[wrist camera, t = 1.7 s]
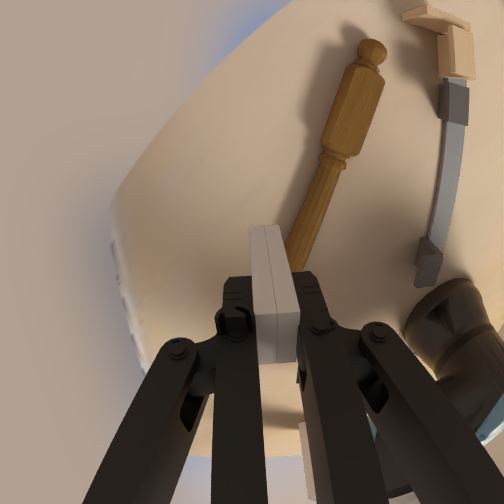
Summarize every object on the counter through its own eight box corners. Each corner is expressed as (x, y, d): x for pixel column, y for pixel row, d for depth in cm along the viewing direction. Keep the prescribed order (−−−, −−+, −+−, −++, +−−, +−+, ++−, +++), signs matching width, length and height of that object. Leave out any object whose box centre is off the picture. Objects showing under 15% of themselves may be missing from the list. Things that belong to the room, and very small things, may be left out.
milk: (306, 430, 58) (318, 513, 39) (297, 422, 55) (308, 512, 36) (331, 423, 56) (346, 507, 37) (324, 414, 53) (340, 506, 35)
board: (433, 273, 35) (453, 299, 30) (382, 279, 35) (399, 309, 30) (460, 30, 18) (492, 28, 13) (400, 9, 18) (430, -2, 13)
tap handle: (265, 302, 33) (368, 31, 18) (263, 285, 35) (355, 36, 21) (290, 307, 33) (396, 47, 19) (287, 290, 36) (382, 49, 21)
